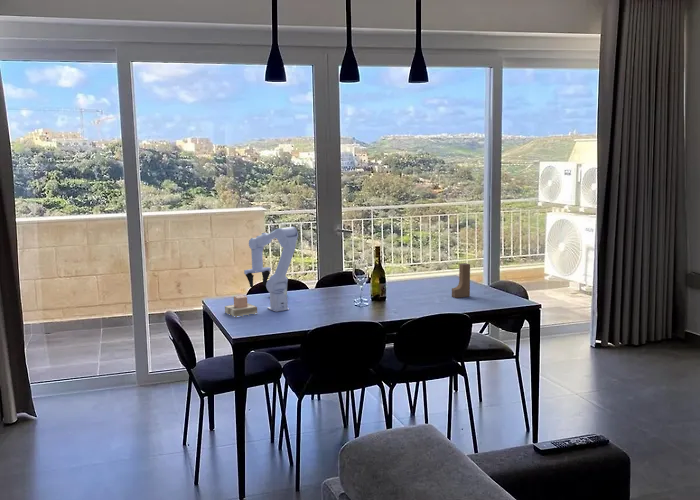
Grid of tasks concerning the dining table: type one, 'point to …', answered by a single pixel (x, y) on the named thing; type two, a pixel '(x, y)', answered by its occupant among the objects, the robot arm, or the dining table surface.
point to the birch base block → (240, 310)
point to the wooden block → (463, 282)
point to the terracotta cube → (240, 301)
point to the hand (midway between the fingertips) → (258, 286)
